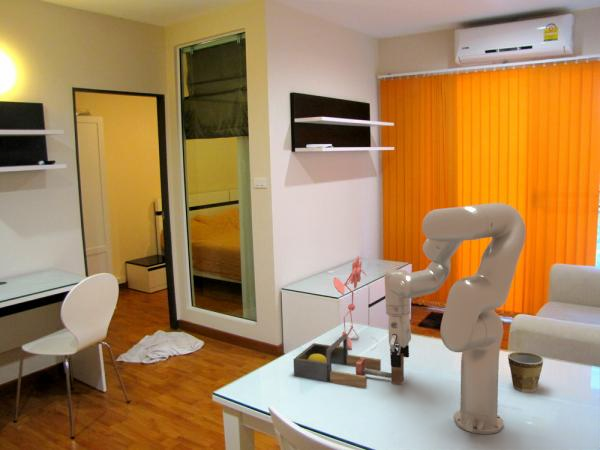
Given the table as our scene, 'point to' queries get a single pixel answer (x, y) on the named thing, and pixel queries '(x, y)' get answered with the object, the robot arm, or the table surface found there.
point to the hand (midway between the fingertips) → (400, 361)
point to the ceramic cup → (525, 370)
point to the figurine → (339, 286)
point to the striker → (395, 374)
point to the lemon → (317, 358)
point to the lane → (353, 378)
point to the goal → (321, 369)
